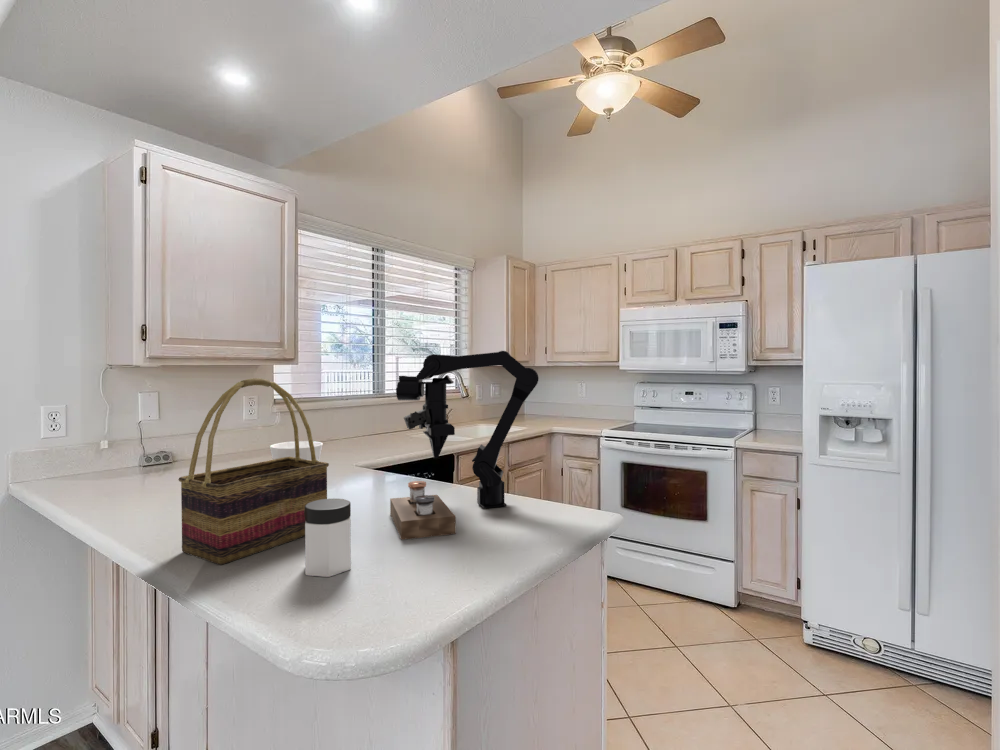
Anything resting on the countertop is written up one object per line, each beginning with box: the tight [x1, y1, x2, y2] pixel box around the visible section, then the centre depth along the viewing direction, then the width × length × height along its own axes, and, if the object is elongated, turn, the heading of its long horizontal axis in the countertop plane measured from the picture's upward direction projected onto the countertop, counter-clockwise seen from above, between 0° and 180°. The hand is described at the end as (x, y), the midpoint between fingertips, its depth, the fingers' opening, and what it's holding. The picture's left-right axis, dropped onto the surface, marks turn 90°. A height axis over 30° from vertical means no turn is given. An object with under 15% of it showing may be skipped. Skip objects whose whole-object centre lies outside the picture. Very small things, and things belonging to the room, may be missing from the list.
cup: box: [269, 440, 324, 462], centre depth 141 cm, size 14×14×16 cm
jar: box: [304, 498, 352, 578], centre depth 94 cm, size 9×8×12 cm
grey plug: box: [415, 494, 434, 516], centre depth 116 cm, size 4×4×7 cm
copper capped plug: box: [407, 480, 427, 504], centre depth 126 cm, size 4×4×7 cm
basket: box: [177, 377, 330, 566], centre depth 109 cm, size 26×15×35 cm, turn 149°
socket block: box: [389, 494, 457, 541], centre depth 121 cm, size 12×20×4 cm, turn 19°
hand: (435, 457), depth 138 cm, fingers closed
